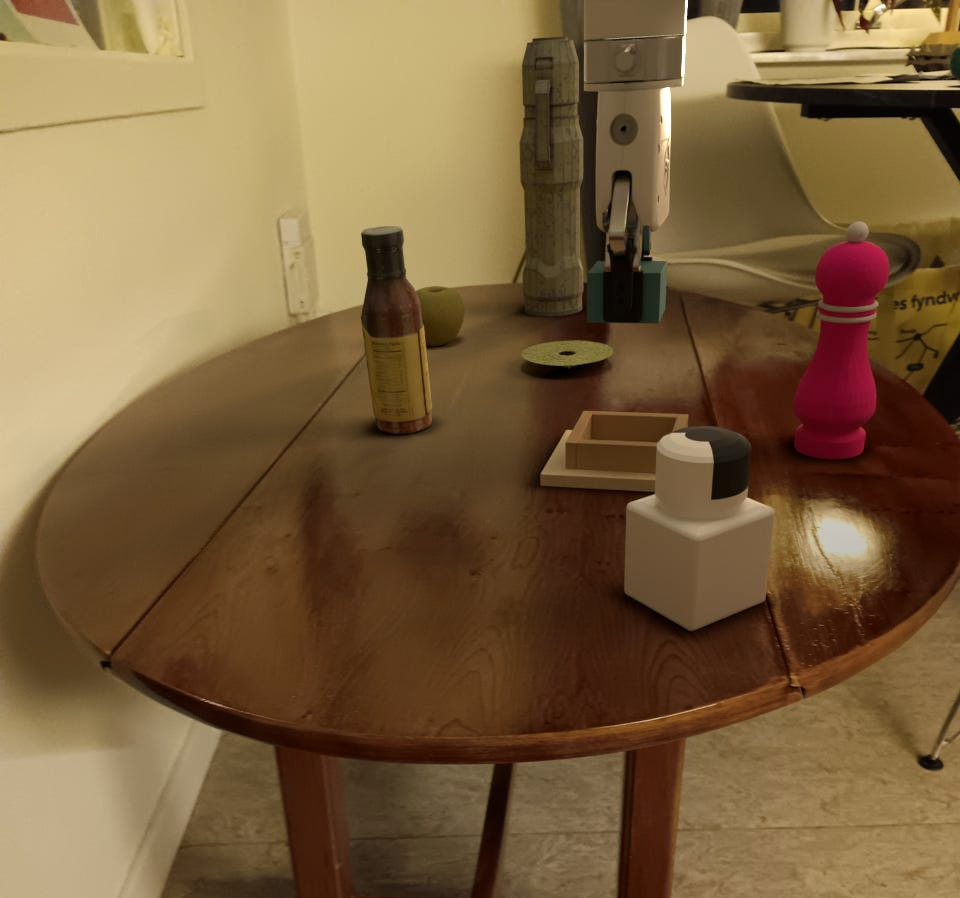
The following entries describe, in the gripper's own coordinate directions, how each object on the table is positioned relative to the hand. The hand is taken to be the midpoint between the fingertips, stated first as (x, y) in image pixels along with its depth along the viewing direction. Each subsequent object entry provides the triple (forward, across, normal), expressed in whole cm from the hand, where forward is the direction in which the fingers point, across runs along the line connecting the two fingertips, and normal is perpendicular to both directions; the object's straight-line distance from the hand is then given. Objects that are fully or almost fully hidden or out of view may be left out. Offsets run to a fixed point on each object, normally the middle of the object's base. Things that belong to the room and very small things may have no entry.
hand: (627, 310), depth 84 cm
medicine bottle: (+15, -24, -8) cm, 29 cm away
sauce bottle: (+15, +9, +25) cm, 30 cm away
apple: (+15, +43, +32) cm, 56 cm away
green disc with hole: (+15, +33, +12) cm, 38 cm away
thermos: (+15, +63, +20) cm, 68 cm away
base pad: (+14, +1, 0) cm, 14 cm away
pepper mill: (+15, +8, -18) cm, 25 cm away
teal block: (0, 0, 0) cm, 0 cm away
